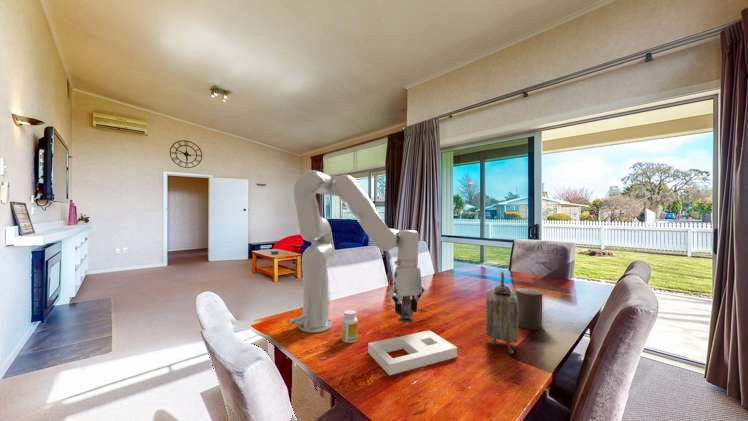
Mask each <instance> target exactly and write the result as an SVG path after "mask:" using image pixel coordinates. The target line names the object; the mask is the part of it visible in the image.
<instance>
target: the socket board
mask: <svg viewBox="0 0 748 421" xmlns="http://www.w3.org/2000/svg"><path fill="white" fill-rule="evenodd" d="M367 346H368V347H367V352H368V354H369V355H370V357H371V358H373V360H374V361H375V362H376V363H377V364H378V365H379V366H380V367H381V368H382V369H383V370H384V372H386V374H387V375H388V376H393V375H397V374H400V373H403V372H407V371H411V370H414V369H419V368H422V367H426V366H428V365H433V364H437V363H439V362H444V361H449V360H451V359H455V358H458V347H457V346H455V344H453V343H451V342H450V341H447V340H446V339H444V338H443V337H441V336H440V335H438V334H436V333H435V332H433V331H431V330H425V331H420V332H414V333H411V334H406V335H401V336H396V337H392V338H387V339H386V338H385V339H381V340H376V341H371V342H368V343H367ZM400 350H404V351H405V352H406V353H408V354H406V355H401V356H397V357H392V355H390V354H389V353H391V352H396V351H400Z"/></svg>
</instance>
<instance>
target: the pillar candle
mask: <svg viewBox="0 0 748 421" xmlns="http://www.w3.org/2000/svg"><path fill="white" fill-rule="evenodd" d="M515 294H516V296H517V300H518V327H520V328H523V329H527V330H534V331H537V330H541V329H542V328H543V325H542V324H543V292H542V291H541V290H537V289H533V288H529V287H527V288H525V287H520V288H519V287H517V288H515Z"/></svg>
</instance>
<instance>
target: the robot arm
mask: <svg viewBox="0 0 748 421" xmlns="http://www.w3.org/2000/svg"><path fill="white" fill-rule="evenodd" d="M316 194H319V195H329V196H332V197H333V196H334V197H338V198H340V199H341V201H342V202H343V203H344V205H345V206H346V207H347V209H349V210H350V212H351V213H352V214H353V216H354V217H355V219H356V221H357V222H358V224H359V225H360V226H361V228H362V230H363V231H364V232H365V234H366V235H367V237H368V238H369V239H370V240H371V242H372V243H373V244H374V245H375V247H377V248H378V249H379V250H381V251H384V252H388V251H391V250H393V249H394V248H397V259H396V260H395V261H394V263H393V264H394V265H395V266H396V267H395V269H394V273H393V278H392V279H393V280H392V286H391V288H390V289H389V290H388V292H387V296H389V298H391V299H392V300H393V302H394V311H395V313H396V314H397V315H399V316H400V315H401V309H402V301H401V300H402V299H403V297H404V296H410V297H411V298H410V300H411V302H410V307H411V309H413V310H414V313H417V310H418V302H419V301H420V298H421V297H422V295H423V293H425V289H424V287H423V286H422V274H421V269H420V267H419V263H418V262H419V238H420V234H419V231H417V230H414V229H395V228H391V227H388V225H387V224H386V223H385V222H384V220H383V219H382V218H381V216H380V215H379V213H378V211H377V209H376V206H375V204H374V202H373V200H372V199H370V197H369V196H368V195H367V194H366V192H365V191H364V190H363V188H361V186H360V183H359V180H357V179H356V178H355V177H354V176H351V175H350V174H346V173H345V174H340V175H334V174H328V173H324V172H322V171H319V170H314V169H312V170H306V171H305V172H303V173H302V174H301V175H299V176H298V177H297V179H296V181H295V183H294V186H293V199H294V204H295V208H296V209H295V210H296V215H297V216H296V217H297V221H298V228H299V233H300V236H301V237H302V239H303V240H304V241H306V242H310V243H311V245H310V246H308V247H307V248H306V249H305V250H304V251H303V253H302V256H301V268H302V275H303V276H302V278H303V280H302V281H303V283H302V284H303V285H302V287H303V289H302V290H303V291H302V296H303V297H302V299H303V300H302V313H301V314H300V316H298V317H294V318H290V319H289V324H290V325H294V326H298V329H299V330H300V331H302V332H304V333H309V334H312V333H322V332H325V331H328V330H329V329H331V328H332V326H333V321H332V320H331V319H329V272H328V265H329V264H330V263H332V262H333V261H334V259H335V255H336V249H335V244H334V243H335V242H334V239H333V238H334V237H333V233H332V228H331V224H330V223H329V221H328V219H326V218H324V217H322V216H321V213H320V206H319V203H318V200H317V198H316Z"/></svg>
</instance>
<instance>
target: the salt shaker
mask: <svg viewBox="0 0 748 421" xmlns="http://www.w3.org/2000/svg"><path fill="white" fill-rule="evenodd" d="M401 304H402V309H401V315H399V318H398V321H399V322H400V323H403V324H410V323H413V322H414V319H413V318H412V317H413V314H414V313H415V312H414V310H413V309H411V307H410V306H411V296H404V297H402V299H401Z"/></svg>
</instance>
